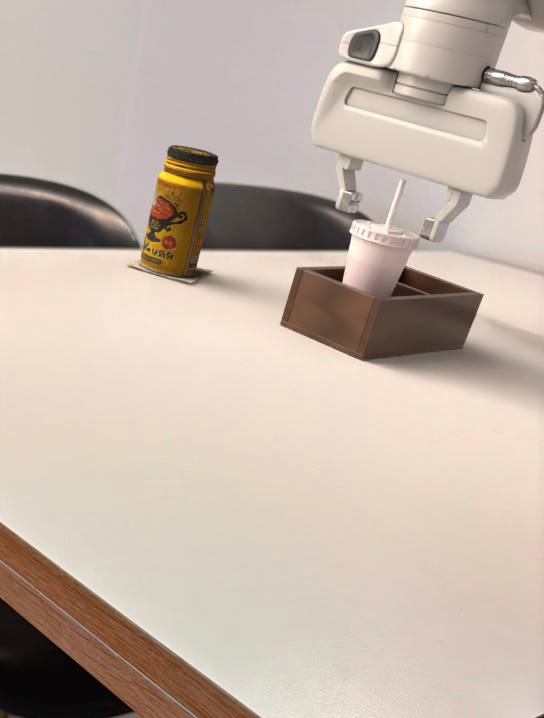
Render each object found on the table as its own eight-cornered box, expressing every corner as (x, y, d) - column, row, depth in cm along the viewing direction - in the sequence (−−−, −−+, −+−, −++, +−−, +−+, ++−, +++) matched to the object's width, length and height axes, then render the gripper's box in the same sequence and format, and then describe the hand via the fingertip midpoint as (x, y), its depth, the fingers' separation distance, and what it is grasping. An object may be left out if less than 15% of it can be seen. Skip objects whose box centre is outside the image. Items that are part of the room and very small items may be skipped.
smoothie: (318, 331, 101) (368, 174, 94) (320, 316, 106) (367, 166, 99) (385, 348, 100) (441, 191, 93) (384, 332, 106) (436, 183, 98)
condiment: (125, 266, 112) (151, 143, 106) (152, 255, 119) (178, 139, 113) (189, 285, 110) (220, 161, 104) (213, 273, 117) (243, 156, 111)
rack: (463, 347, 110) (484, 294, 107) (361, 360, 98) (382, 300, 95) (384, 316, 115) (402, 264, 112) (279, 324, 103) (296, 266, 100)
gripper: (571, 86, 87) (503, 259, 94) (366, 39, 99) (320, 197, 106) (537, 78, 83) (468, 259, 90) (327, 31, 94) (281, 195, 102)
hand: (386, 225), depth 98 cm, fingers open, 8 cm apart
